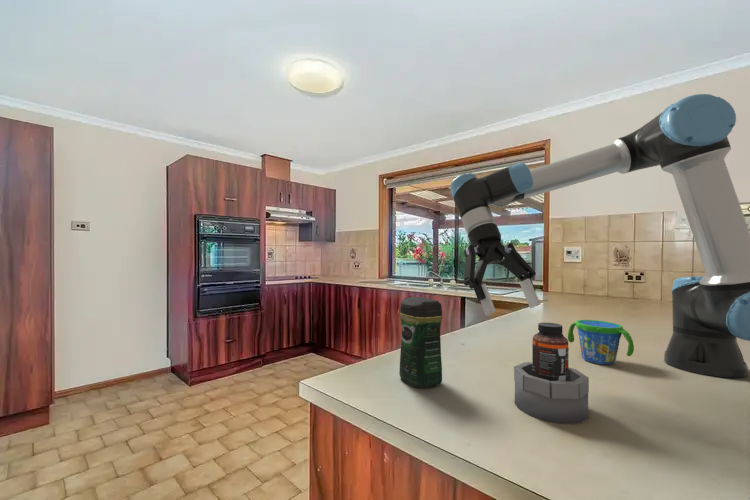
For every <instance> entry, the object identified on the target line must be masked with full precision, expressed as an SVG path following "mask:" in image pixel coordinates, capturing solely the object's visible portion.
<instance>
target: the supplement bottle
mask: <svg viewBox="0 0 750 500" xmlns="http://www.w3.org/2000/svg"><path fill="white" fill-rule="evenodd" d="M537 325H538V326H537V330H538V331H539V332H537V333H535V334H534V335H533V336H532V352H531V353H532V354H531V355H532V361H531V362H532V363H533V364H532V366H533V367H532V376H535V377H538V378H542V379H546V380H549V381H568V379H569V378H568V377H569V376H568V375H569V368H570V367H569V358H570V357H569V354H570V353H569V349H570V348H569V340H568V337H565V336H564V334H563V332H564V331H563V325H562V324H560V323H556V322H539V323H538V324H537ZM568 367H569V368H568Z"/></svg>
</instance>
